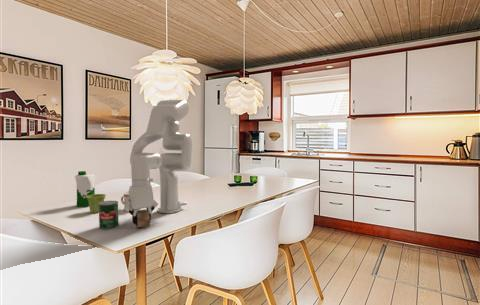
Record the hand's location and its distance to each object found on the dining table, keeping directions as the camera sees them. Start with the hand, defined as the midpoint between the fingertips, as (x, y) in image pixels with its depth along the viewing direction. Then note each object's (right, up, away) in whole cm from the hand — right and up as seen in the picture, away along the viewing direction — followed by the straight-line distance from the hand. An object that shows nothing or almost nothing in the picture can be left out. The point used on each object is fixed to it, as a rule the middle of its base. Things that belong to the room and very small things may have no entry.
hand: (142, 222), depth 124 cm
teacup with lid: (-17, -1, +32) cm, 36 cm away
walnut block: (0, -1, 0) cm, 1 cm away
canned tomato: (-15, -2, +1) cm, 15 cm away
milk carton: (-47, 0, +40) cm, 62 cm away
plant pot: (-34, -1, +26) cm, 43 cm away
